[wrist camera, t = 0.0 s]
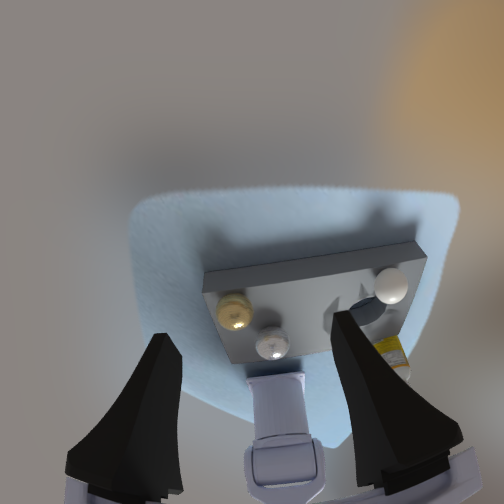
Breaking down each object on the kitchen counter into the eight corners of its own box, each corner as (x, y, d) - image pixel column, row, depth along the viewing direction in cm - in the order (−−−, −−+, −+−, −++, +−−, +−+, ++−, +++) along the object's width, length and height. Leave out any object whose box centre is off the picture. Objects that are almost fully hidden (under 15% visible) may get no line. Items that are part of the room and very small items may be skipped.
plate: (391, 318, 30) (398, 334, 28) (231, 346, 31) (231, 364, 29) (415, 240, 23) (427, 257, 21) (204, 272, 24) (202, 293, 22)
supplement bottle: (366, 324, 30) (389, 393, 23) (400, 321, 31) (426, 384, 23) (351, 348, 33) (368, 411, 26) (384, 345, 34) (403, 403, 26)
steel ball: (288, 336, 26) (292, 363, 24) (256, 340, 26) (258, 368, 24) (286, 316, 24) (291, 345, 22) (251, 321, 24) (253, 350, 22)
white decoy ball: (395, 283, 22) (408, 307, 20) (366, 289, 23) (378, 314, 20) (402, 258, 21) (417, 282, 18) (371, 263, 21) (385, 289, 18)
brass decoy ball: (255, 307, 23) (257, 335, 21) (220, 311, 23) (219, 339, 21) (249, 282, 21) (251, 312, 19) (212, 287, 21) (210, 316, 19)
